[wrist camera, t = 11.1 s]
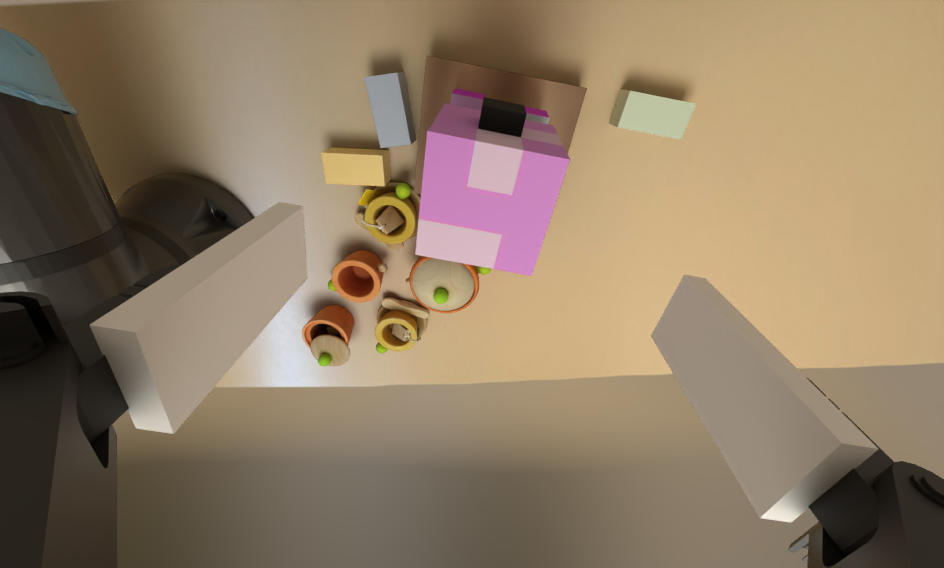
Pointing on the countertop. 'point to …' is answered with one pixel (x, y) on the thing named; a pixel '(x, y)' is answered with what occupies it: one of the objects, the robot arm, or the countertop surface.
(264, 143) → the countertop surface
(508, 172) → the toy
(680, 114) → the brick sage
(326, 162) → the brick ochre
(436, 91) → the pedestal
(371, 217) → the toy tea set
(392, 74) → the brick slate
